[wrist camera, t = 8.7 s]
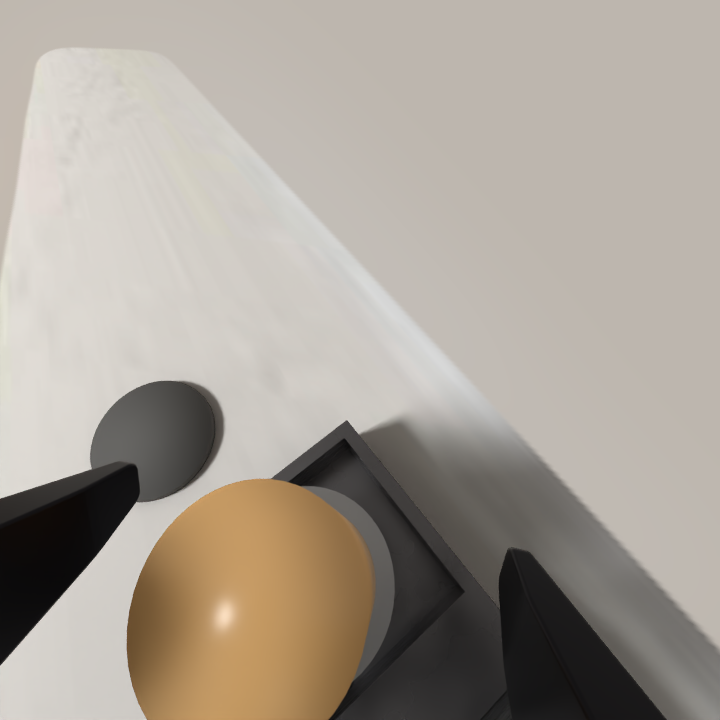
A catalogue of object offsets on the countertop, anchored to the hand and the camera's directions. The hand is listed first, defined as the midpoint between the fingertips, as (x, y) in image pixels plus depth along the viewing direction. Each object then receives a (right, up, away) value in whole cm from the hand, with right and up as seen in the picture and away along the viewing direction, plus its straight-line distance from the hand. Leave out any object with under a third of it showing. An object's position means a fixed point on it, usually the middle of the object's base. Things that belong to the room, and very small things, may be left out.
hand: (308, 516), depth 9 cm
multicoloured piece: (0, -4, +6) cm, 7 cm away
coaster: (-8, 0, +9) cm, 12 cm away
